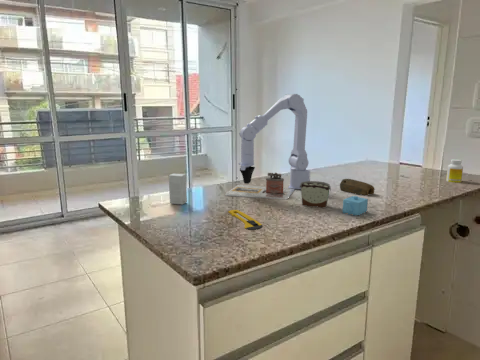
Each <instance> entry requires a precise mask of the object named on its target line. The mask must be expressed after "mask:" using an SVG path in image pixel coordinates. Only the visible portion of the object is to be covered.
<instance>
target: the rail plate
mask: <svg viewBox="0 0 480 360" xmlns="http://www.w3.org/2000/svg"><path fill="white" fill-rule="evenodd" d="M295 190H296V189H290V188H288V187H285V188H284V187H283V193H286V194H268V193H266V186H259V185H248V184H246V185H245V184H237V185H235V186H234V187H233V188H231V189H230V190H228V191H226V192H225V194H224V196H227V197H239V198H255V199H275V200H289V198H290V197H291V195H292V194H293V193H294V191H295Z"/></svg>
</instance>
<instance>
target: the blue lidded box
mask: <svg viewBox="0 0 480 360" xmlns="http://www.w3.org/2000/svg"><path fill="white" fill-rule="evenodd" d="M368 200H369V199H368V198H364V197H361V196H360V197H359V196H357V195H352V196H348V197H346V198H344V199H342V212H343V213H342V214H345V213H348V214H347V215H350V214H353V215H352V216H355V215H359V216H361V215H363V214H365V213H367V212H368V202H369V201H368ZM366 211H367V212H366ZM364 212H365V213H364ZM362 213H363V214H362ZM360 214H361V215H360Z"/></svg>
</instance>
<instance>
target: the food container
mask: <svg viewBox="0 0 480 360" xmlns="http://www.w3.org/2000/svg"><path fill="white" fill-rule="evenodd" d="M300 187H301V189H300V192H301V193H300V195H301V206H302V205H307V206H306V207H313V206H318V207H317V208H323V207H326V208H327V206H328V201H329V195H330V194H329V193H330V192H331V191H332V188H331V187H332V186H331V184H330V183H328V182H324V181H318V180H317V181H315V180H310V181H306V182H302V183H301V184H300ZM300 187H299V188H300Z"/></svg>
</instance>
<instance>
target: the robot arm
mask: <svg viewBox="0 0 480 360" xmlns="http://www.w3.org/2000/svg"><path fill="white" fill-rule="evenodd" d="M304 100H305V99H304V98H303V97H302V96H301V95H300V94H298V93H292V94H291V93H287V94H284V95H283V96H282V97H280V98H279V99H278V100H277V101H276V102H275V103H274V104H273V105H271V107H270V108H269V109H268V110H266V111H265V113H263V114H259V115H255V116H254V117H253V118H254V119H253V120H252V121H250V122H247V123H246V126H243V127H242V128H241V129H240V132H239V133H238V134H239V137H240V139H241V141H240V162H238V165H240V166H239V167H240V168H239V171H240V173H241V176H242V180H243V183H244V185H245V184H246V185H248V184H249V183H251V181H252V178H253V177H252V176H253V173H254V170H255V169H256V167H255V166H254V165H255V162H254V161H255V160H254V157H255V156H254V154H255V151H254V149H255V148H254V147H255V138H256V136H257V134H258V133H260V132H261V131H262V130H263V129H264V128H265V127H267V125H268V121H269V120H270V119H272V118H273V117H274V116H276V115H277V114H278V113H279V112H280V111H282V110H289V111H291V112H292V113H293V114H294V117H295V118H294V134H293V147H292V150H291V152H290V156H289V158H288V164H289V165H290V169H289V170H290V171H289V172H290V173H289V175H290V176H289V177H290V178H289V186H288V187H287V188H288V189H295V190H301V187H300V184H301V183H302V182H306V181H311V169H307V168H308V166H309V159H308V153H307V151H306V150H305V149H306V137H307V135H306V134H307V125H308V123H307V121H308V120H307V119H308V109H307V107H306V104H305V102H304ZM299 187H300V188H299Z"/></svg>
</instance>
